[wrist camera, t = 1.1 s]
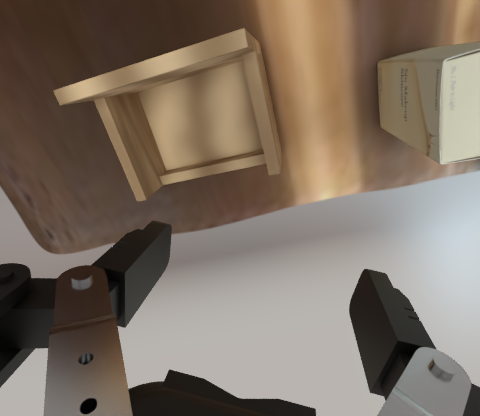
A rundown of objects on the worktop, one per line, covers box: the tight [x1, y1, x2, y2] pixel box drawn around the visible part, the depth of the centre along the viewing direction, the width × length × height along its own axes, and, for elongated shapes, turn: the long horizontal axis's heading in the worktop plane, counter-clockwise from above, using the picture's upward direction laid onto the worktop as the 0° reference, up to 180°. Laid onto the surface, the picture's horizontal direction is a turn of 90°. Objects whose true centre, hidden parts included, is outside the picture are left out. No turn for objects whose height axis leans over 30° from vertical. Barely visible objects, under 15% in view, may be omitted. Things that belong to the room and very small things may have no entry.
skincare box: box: [377, 42, 480, 164], centre depth 21 cm, size 6×4×12 cm
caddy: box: [53, 28, 282, 202], centre depth 25 cm, size 14×10×11 cm
